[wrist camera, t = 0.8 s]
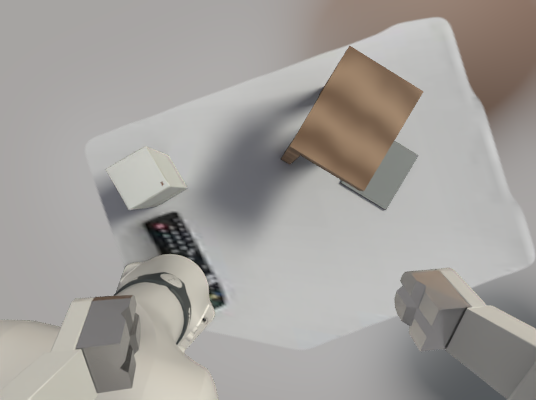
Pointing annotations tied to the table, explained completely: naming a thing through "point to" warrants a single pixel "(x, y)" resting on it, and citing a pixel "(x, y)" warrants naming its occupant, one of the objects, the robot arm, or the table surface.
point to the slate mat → (388, 175)
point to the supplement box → (146, 179)
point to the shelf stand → (354, 120)
